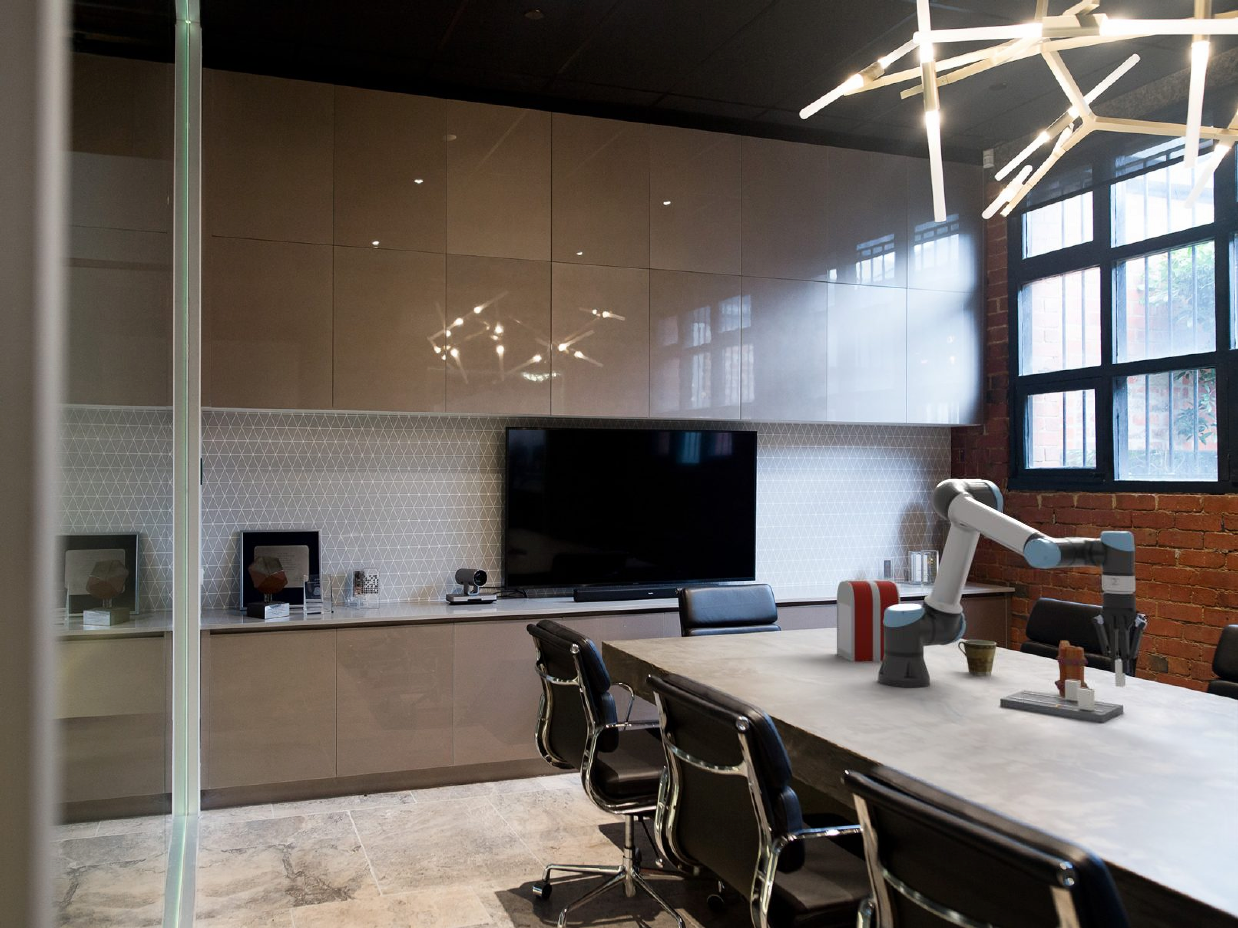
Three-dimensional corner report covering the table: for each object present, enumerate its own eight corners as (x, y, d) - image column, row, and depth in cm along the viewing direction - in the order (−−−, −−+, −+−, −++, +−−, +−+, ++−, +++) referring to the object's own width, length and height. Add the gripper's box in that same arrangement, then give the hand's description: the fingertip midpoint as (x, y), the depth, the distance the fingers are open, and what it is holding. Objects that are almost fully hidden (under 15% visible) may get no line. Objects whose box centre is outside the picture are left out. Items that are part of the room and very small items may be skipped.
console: (1000, 705, 258) (1000, 697, 258) (1024, 697, 269) (1024, 689, 269) (1102, 722, 240) (1102, 713, 240) (1123, 712, 251) (1123, 704, 251)
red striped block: (835, 653, 341) (835, 578, 342) (883, 652, 343) (883, 577, 344) (852, 661, 325) (852, 582, 325) (901, 661, 327) (901, 582, 327)
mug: (1092, 701, 264) (1091, 647, 265) (1060, 700, 266) (1060, 646, 266) (1077, 690, 279) (1077, 639, 279) (1048, 689, 280) (1047, 638, 281)
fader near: (1078, 708, 246) (1077, 688, 246) (1082, 706, 248) (1082, 686, 248) (1090, 710, 244) (1090, 689, 244) (1094, 708, 246) (1094, 688, 246)
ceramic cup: (1003, 674, 304) (1003, 642, 304) (984, 677, 298) (983, 645, 298) (967, 667, 314) (967, 637, 315) (948, 670, 309) (948, 640, 309)
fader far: (1065, 699, 257) (1065, 679, 257) (1069, 697, 259) (1069, 678, 259) (1076, 700, 255) (1076, 681, 255) (1080, 699, 257) (1080, 679, 257)
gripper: (1086, 591, 243) (1088, 684, 242) (1142, 594, 234) (1144, 691, 233) (1096, 589, 248) (1098, 680, 247) (1151, 592, 239) (1153, 687, 238)
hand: (1120, 685), depth 240 cm, fingers closed
